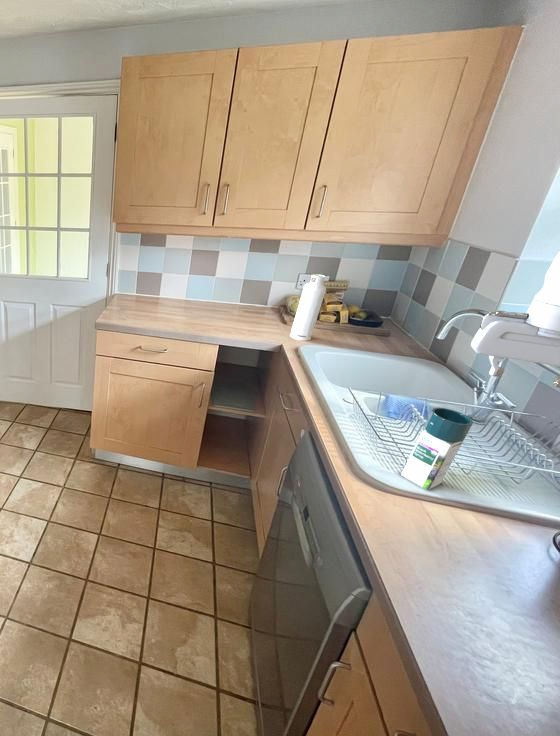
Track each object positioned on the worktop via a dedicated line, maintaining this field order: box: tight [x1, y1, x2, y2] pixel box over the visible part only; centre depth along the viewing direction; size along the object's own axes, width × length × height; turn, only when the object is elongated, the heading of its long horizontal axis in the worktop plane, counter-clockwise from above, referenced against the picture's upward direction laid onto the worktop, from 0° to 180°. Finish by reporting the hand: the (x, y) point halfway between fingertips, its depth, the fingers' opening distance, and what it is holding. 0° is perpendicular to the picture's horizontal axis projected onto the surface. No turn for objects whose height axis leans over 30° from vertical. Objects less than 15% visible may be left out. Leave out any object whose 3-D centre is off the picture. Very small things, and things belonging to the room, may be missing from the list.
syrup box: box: [400, 429, 465, 491], centre depth 96 cm, size 6×6×14 cm
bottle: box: [289, 273, 327, 342], centre depth 178 cm, size 8×8×28 cm
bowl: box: [423, 407, 474, 443], centre depth 92 cm, size 7×7×5 cm
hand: (525, 381), depth 85 cm, fingers open, 8 cm apart
